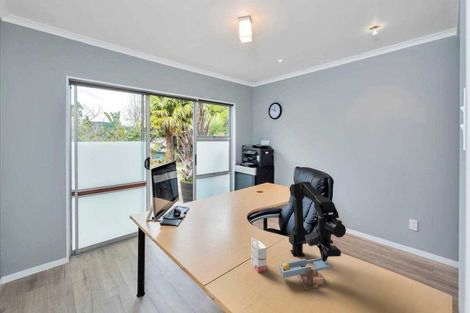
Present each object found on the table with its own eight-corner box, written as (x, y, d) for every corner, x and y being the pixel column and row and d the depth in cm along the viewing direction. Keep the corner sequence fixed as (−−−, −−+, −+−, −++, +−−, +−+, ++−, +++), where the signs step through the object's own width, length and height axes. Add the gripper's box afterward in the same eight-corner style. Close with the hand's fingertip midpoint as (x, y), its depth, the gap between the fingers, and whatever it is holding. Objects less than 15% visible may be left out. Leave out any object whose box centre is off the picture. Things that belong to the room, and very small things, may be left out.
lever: (324, 259, 105) (323, 254, 105) (331, 268, 98) (331, 263, 98) (279, 269, 104) (278, 263, 104) (283, 278, 97) (282, 273, 97)
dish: (317, 275, 106) (317, 269, 105) (324, 284, 98) (324, 278, 98) (297, 275, 105) (297, 270, 105) (302, 285, 98) (302, 279, 98)
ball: (284, 270, 103) (279, 264, 102) (290, 265, 103) (285, 260, 102) (286, 274, 99) (281, 269, 99) (292, 270, 99) (288, 264, 99)
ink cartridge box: (267, 270, 110) (267, 241, 108) (258, 273, 108) (258, 243, 107) (259, 261, 118) (259, 234, 116) (250, 263, 116) (250, 236, 115)
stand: (308, 272, 108) (308, 257, 107) (318, 288, 96) (318, 271, 96) (295, 273, 107) (296, 257, 107) (304, 289, 96) (304, 271, 95)
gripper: (299, 221, 109) (299, 251, 110) (315, 237, 91) (314, 274, 92) (322, 220, 110) (321, 251, 111) (342, 236, 91) (341, 273, 92)
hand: (323, 261), depth 102 cm, fingers closed
